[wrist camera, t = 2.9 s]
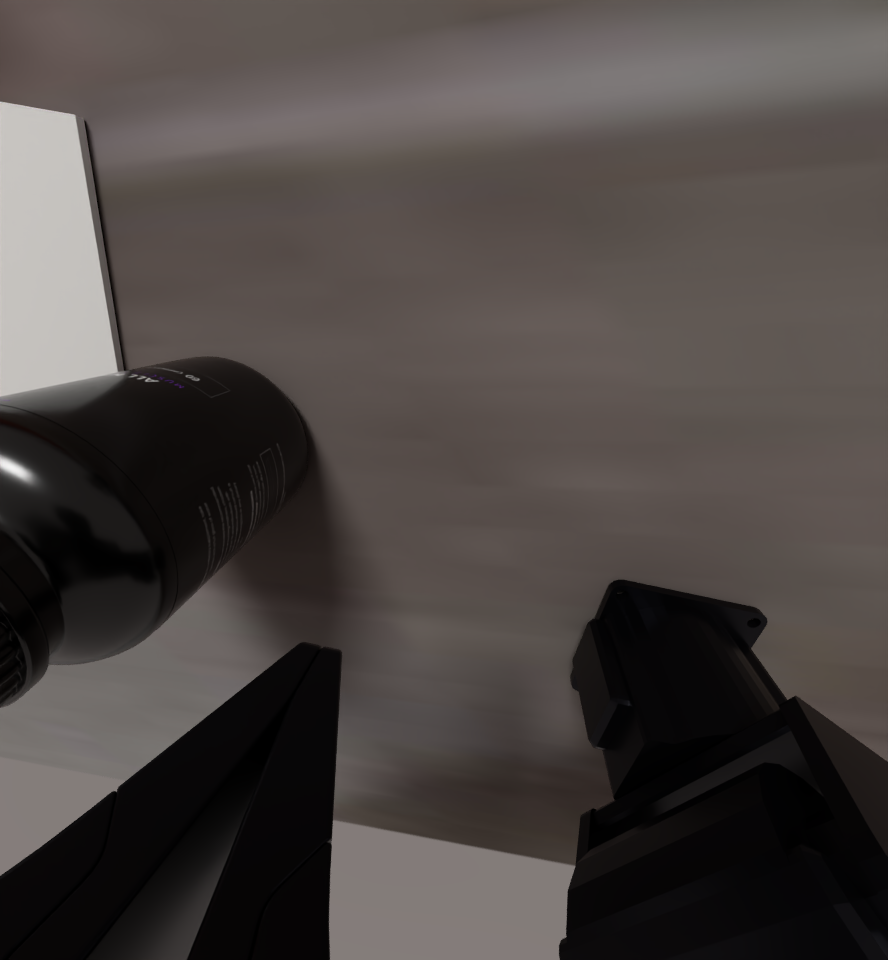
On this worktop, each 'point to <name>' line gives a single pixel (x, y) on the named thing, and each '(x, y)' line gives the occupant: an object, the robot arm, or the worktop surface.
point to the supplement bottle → (130, 503)
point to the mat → (51, 256)
